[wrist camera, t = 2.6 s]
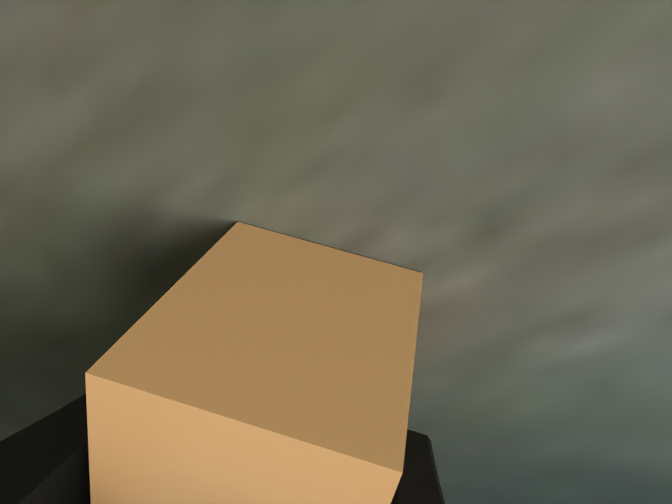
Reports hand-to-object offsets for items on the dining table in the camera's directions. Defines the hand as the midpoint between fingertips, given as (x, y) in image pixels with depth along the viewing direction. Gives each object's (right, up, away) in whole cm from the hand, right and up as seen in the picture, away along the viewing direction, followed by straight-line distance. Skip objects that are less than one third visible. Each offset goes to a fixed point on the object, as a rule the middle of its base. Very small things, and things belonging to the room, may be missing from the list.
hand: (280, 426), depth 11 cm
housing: (0, +1, +1) cm, 2 cm away
